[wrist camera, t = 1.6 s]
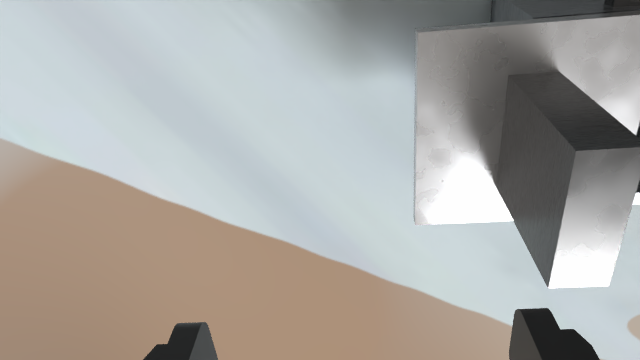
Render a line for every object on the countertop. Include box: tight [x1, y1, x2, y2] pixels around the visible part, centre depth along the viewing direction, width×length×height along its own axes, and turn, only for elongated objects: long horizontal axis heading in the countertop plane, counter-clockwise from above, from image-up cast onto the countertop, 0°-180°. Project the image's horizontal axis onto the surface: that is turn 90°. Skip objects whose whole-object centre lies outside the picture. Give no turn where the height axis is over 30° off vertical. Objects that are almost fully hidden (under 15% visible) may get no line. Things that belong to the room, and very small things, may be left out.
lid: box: [414, 10, 640, 288], centre depth 27 cm, size 14×14×11 cm
